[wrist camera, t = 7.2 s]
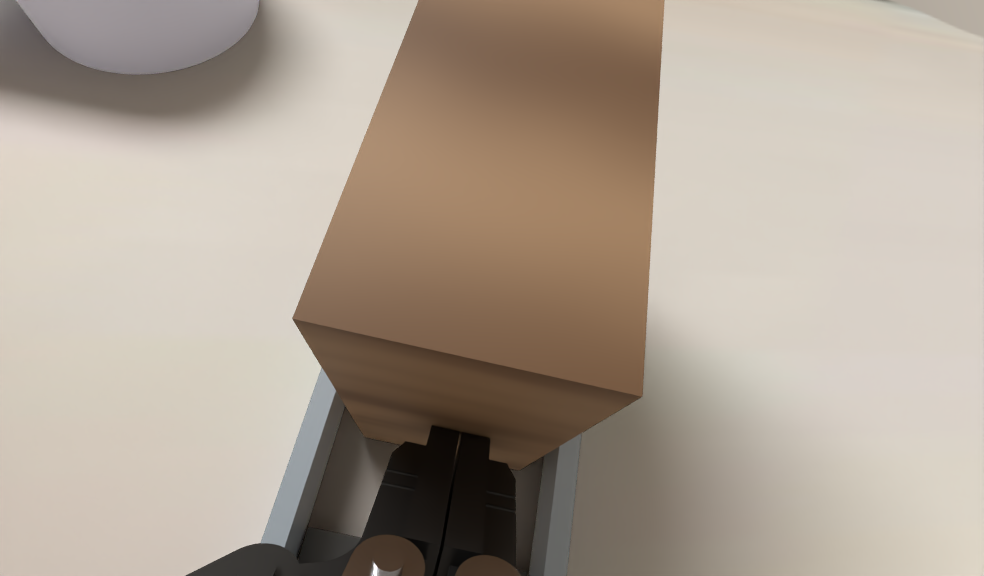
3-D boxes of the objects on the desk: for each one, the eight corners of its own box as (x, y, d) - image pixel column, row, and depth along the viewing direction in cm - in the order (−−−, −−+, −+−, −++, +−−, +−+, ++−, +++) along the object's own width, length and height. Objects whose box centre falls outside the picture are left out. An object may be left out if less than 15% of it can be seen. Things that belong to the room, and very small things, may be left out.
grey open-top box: (533, 703, 14) (550, 729, 12) (245, 646, 13) (218, 664, 12) (580, 303, 19) (597, 279, 17) (374, 257, 19) (370, 228, 17)
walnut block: (519, 470, 16) (642, 396, 7) (364, 436, 16) (292, 318, 7) (555, 234, 20) (664, -3, 11) (432, 206, 20) (441, -58, 11)
